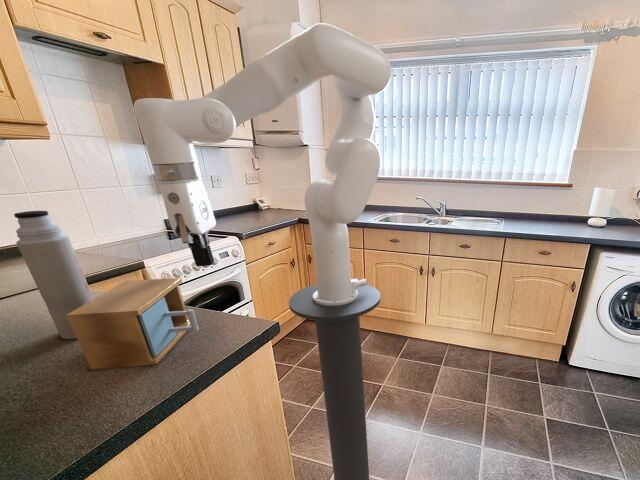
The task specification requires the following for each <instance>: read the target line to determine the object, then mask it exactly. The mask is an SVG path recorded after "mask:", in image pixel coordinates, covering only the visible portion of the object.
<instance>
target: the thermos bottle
mask: <svg viewBox="0 0 640 480" xmlns="http://www.w3.org/2000/svg"><path fill="white" fill-rule="evenodd" d="M13 215H14V218H16V219H17V223H18V225H19V228H17V229H16V230H15V232H16V234H17V235H16V237H17V238H19V240H17V241H16V242H15V243H16V245H17V247H18V250H19V252H20V254H21V256H22V258H23V260H24V262H25V264H26V267H27V268H28V270H29V272H30V273H29V274H30V275H31V277H32V279H33V281H34V283H35V286H36V287H37V290H38V292H39V294H40V296H41V297H42V300H43V301H44V303H45V306H46V309H47V310H48V312H49V315H50V317H51V319H52V322H53V323H54V325H55V327H56V330H57V331H58V334H59V336H60V338H62V339H64V340H72V339H77V337H76V335H75V333H74V331H73V329H72V326H71V324H70V322H69V320H68V318H67V314H69V313H71V312H72V311H74V310H76V309H78V308H79V307H81V306H83V305H84V304H86V303H88V302H90V301H91V300H93V299H95V298H94V296H93V293H92V291H91V289H90V286H89V284H88V282H87V279H86V276H85V274H84V271H83V269H82V267H81V263H80V261H79V259H78V256H77V254H76V252H75V249H74V247H73V244H72V242H71V239H70V237H69V235H67V234H64V232H63V229H62V228H61V226H60V225H58V224H55V223H53V221H52V218H51V217H50V216H49V212H48V211H47V210H28V211H21V212H16V213H13Z"/></svg>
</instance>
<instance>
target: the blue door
mask: <svg viewBox="0 0 640 480" xmlns="http://www.w3.org/2000/svg"><path fill="white" fill-rule="evenodd" d="M181 315H188V319H189V320H190V324H191V326H184V327H174V326H173V323H172V320H171V316H181ZM138 316H139V319H140V322H141V325H142V327H143V330H144V333H145V336H146V339H147V341H148V344H149V347H150V350H151V352H152V355H153V357H156V356H157V355H158V354H159V353H160V352H161V351H162V350H163V349H164V348H165V347H166V346H167V345H168V344H169V343H170V342H171V341H172V339H173V338H174V337H175V336H176V332H180V331H186V332H193V333H195V332H199V331H200V328H199V325H198V322H197V317H196V314H195V311H194V309H193V308H189V309H186V311H171V312H169V310H168V307H167V304H166V301H165V297H162V298H161V299H160V300H158V301H157V302H156V303H154V304H153V305H152V306H150V307H149V308H148V309H147V310H145V311H144V312H143V313H141V314H140V315H138Z"/></svg>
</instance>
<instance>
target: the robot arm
mask: <svg viewBox="0 0 640 480" xmlns="http://www.w3.org/2000/svg"><path fill="white" fill-rule="evenodd" d="M329 76H333V82H334V87H335V89H336V92H337V94H338V97H339V100H340V103H341V115H340V119H339V122H338V125H337V127H336V130H335V132H334V135H333V137H332V139H331V141H330V144H329V146H328V149H327V151H326V154H325V156H324V164H325V169H326V170H327V172H328V173H329V174H330V175H331V176H333V177H334V178H335V179H325V178H324V179H317V180H315V181H313V182H311V183H310V184H309V185H308V186H307V188H306V190H305V192H304V198H303V199H304V200H303V201H304V207H305V212H306V215H307V216H306V217H307V219H308V224H309V228H310V235H311V243H312V252H313V253H312V254H313V261H314V271H315V279H316V280H315V281H316V284H317V289H318V290H317V291H316V292H315V293H314V294H313V301H314V302H315V303H317V304H320V305H324V306H339V305H345V304H348V303H351V302H353V301H354V300H356V299H357V297H358V292H357V290H356V289H357V288H358V287H360V286H365V285H368V282H367V279H366V278H362V279H358V278H357V277H356V278H353V279H352V269H351V255H350V239H349V237H350V236H349V230H348V226H347V225H348V224H351V223H354V222H356V221H357V220H358V219H359V217H361V215H362V213H363V212H364V210H365V208H366V206H367V203H368V201H369V199H370V196H371V194H372V192H373V189H374V187H375V184H376V182H377V180H378V177H379V175H380V172H381V168H382V157H381V152H380V150H379V148H378V146H377V144H376V143H375V142H374V141H373V140H372V137H373V134H374V132H375V126H376V113H375V108H374V106H373V102H372V99H371V97H370V96H373V95H379V94H381V93H382V92H384V91H385V90H386V89H387V88H388V86H389V85H390V83H391V79H392V66H391V62H390V60H389V59H388V57H387V55H386V54H385V52H384V51H383V50H381V49H380V48H379V47H377V46H376V45H374V44H373V43H370V42H368V41H366V40H364V39H362V38H361V37H358V36H356V35H354V34H353V33H350V32H348V31H346V30H344V29H341V28H340V27H337V26H335V25H333V24H329V23H325V22H317V23H315V24H313V25H312V26H309V27H308V28H307V29H304V30H303V31H301V32H300V33H298V34H296V35H295V36H293V37H292V38H290V39H288V40H287V41H285V42H283V43H282V44H280V45H279V46H276V47H275V48H273V49H272V50H270V51H269V52H267V53H265V54H263V55H262V56H260V57H258V58H257V59H256V60H254V61H251V62H250V63H249V64H247V65H246V66H245V67H244V68H242V69H241V70H240V71H239V72H238V73H236V74H235V75H234V76H233V77H232V78H230V79H229V80H227V81H226V82H224V83H223V84H221V85H220V86H218V87H216V88H215V89H213V90H212V91H210V92H208V93H207V94H205V95H203V96H202V97H200V98H192V99H179V100H177V99H176V100H174V99H171V98H163V97H157V98H156V97H149V98H148V97H145V98H139V99H137V100H135V102H134V103H133V111H134V114H135V117H136V121H137V124H138V127H139V130H140V133H141V136H142V139H143V142H144V145H145V148H146V151H147V155H148V158H149V160H150V164H151V166H152V170H153V173H154V176H155V179H156V181H157V184H159V185H160V189H161V195H162V198H163V199H162V200H163V204H164V207H165V212H166V214H167V219H168V222H169V224H170V228H171V230H172V232H173V234H174V235H175V236H176V237H180V239H181V243H182V244H185V245H186V244H187V245H188V248H189V249H190V252H191V255H192V258H193V261H194V264H195V266H196V267H209V266H212V265H213V264H214V263H215V260H214V255H213V252H212V249H211V245H210V238H209V233H210V231H211V230H212V229H214V228H215V227H216V225H217V221H216V216H215V214H214V211H213V208H212V204H211V201H210V198H209V196H208V192H207V191H206V188H205V185H204V183H203V177H202V173H201V169H200V166H199V161H198V158H197V154H196V149H195V146H194V143H193V142H198V143H199V144H200V143H201V144H204V145H213V144H222V143H224V142H227V141H229V140H230V139H231V138H232V137H233V136H234V134H235V132H236V128H238V127H240V126H241V125H243V124H244V123H246V122H248V121H249V120H251V119H254V118H255V117H258V116H260V115H264V114H266V113H269V112H271V111H273V110H275V109H277V108H279V107H281V106H283V105H284V104H286V103H287V102H288V101H290V100H292V99H293V98H294V97H296V96H297V95H299V94H300V93H302V92H303V91H305V90H306V89H307V88H309V87H311V86H312V85H314V84H315V83H317V82H318V81H320V80H322V79H323V78H326V77H327V78H328V77H329Z"/></svg>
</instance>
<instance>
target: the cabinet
mask: <svg viewBox="0 0 640 480" xmlns="http://www.w3.org/2000/svg"><path fill="white" fill-rule="evenodd" d="M182 283H183V279H182V277H176V278H173V277H171V278H155V279H154V278H153V279H135V280H134V279H133V280H124V281H122V282H121V283H120V284H117V285H115V286H114V287H112V288H110V289H109V290H107V291H105V292H104V293H101V294H100V295H99V296H97V297H95V298H94V299H93V300H91V301H90V302H88V303H86V304H84V305H83V306H81V307H79V308H78V309H76V310H74V311H72V312H71V313H69V314H67V318H68V320H69V322H70V324H71V326H72V329H73V331H74V333H75V335H76V337H77V338H76V340H77V342H78V344H79V346H80V348H81V351H82V353H83V355H84V358H85V359H86V362H87V363H88V366H89V368H90V370H100V369H112V368H127V367H137V366H138V367H140V366H153V365H154V366H155V365H158V364H159V362H160V361H161V360H162V359H163V358H164V357H165V356H166V354H168V352H169V351H170V350H171V349H172V348H174V346H175V345H176V344H177V342H178V341H179V340H181V338H182V337H183V336H184V335H185V334H186V333H187V331H180V332H176V336H175V337H174V338H173V339H172V341H171V342H170V343H169V344H168V345H167V346H166V347H165V348H164V349H163V350H162V351H161V352H160V353H159V354H158V355H157V356H156V357H153V355H152V352H151V350H150V347H149V344H148V341H147V339H146V336H145V333H144V330H143V327H142V325H141V322H140V319H139V316H138V315H140V314H141V313H143V312H144V311H145V310H147V309H148V308H149V307H150V306H152V305H153V304H154V303H156V302H157V301H158V300H160V299H161V298H162V297H165V301H166V304H167V307H168V310H169V312H171V311H187V308H186V306H185V302H184V298H183V294H182V292H181V288H180V284H182ZM171 320H172V323H173V326H174V327H184V326H191V324H190V320H189V317H188V315H181V316H171Z"/></svg>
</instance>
